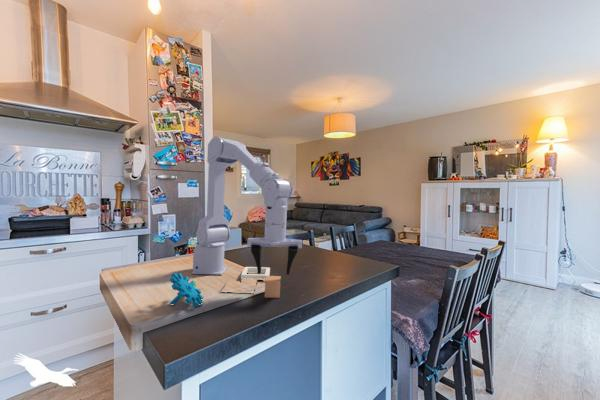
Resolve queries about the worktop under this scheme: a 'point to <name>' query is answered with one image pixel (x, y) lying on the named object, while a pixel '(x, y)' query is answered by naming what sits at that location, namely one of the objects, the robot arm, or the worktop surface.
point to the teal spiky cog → (185, 290)
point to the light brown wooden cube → (272, 286)
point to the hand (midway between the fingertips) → (273, 273)
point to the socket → (264, 272)
